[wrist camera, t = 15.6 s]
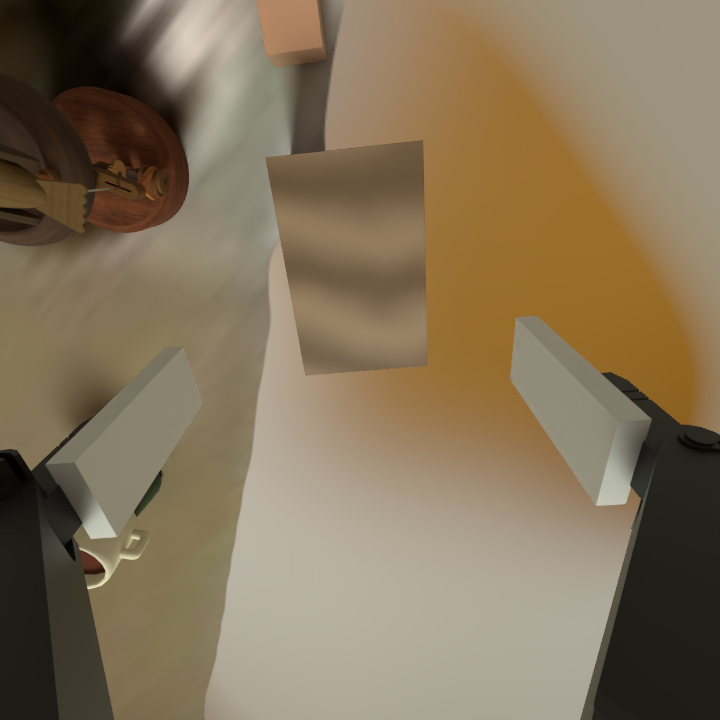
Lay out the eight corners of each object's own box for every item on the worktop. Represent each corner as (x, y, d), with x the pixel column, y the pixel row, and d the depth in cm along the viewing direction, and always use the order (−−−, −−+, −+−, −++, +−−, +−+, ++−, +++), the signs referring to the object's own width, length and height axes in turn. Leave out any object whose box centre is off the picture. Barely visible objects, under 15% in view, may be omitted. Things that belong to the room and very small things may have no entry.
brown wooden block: (290, 158, 34) (265, 157, 25) (406, 146, 33) (423, 140, 24) (317, 328, 41) (305, 375, 32) (412, 320, 40) (427, 365, 31)
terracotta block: (265, 1, 29) (252, -21, 25) (318, -7, 29) (313, -31, 25) (277, 67, 31) (266, 55, 27) (327, 60, 30) (322, 46, 27)
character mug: (182, 460, 49) (127, 552, 38) (181, 500, 52) (131, 596, 41) (93, 445, 48) (8, 535, 37) (97, 487, 51) (21, 582, 40)
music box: (196, 88, 31) (0, 54, 14) (217, 228, 37) (96, 321, 20) (4, 78, 31) (-428, 31, 14) (56, 220, 37) (-206, 309, 20)
